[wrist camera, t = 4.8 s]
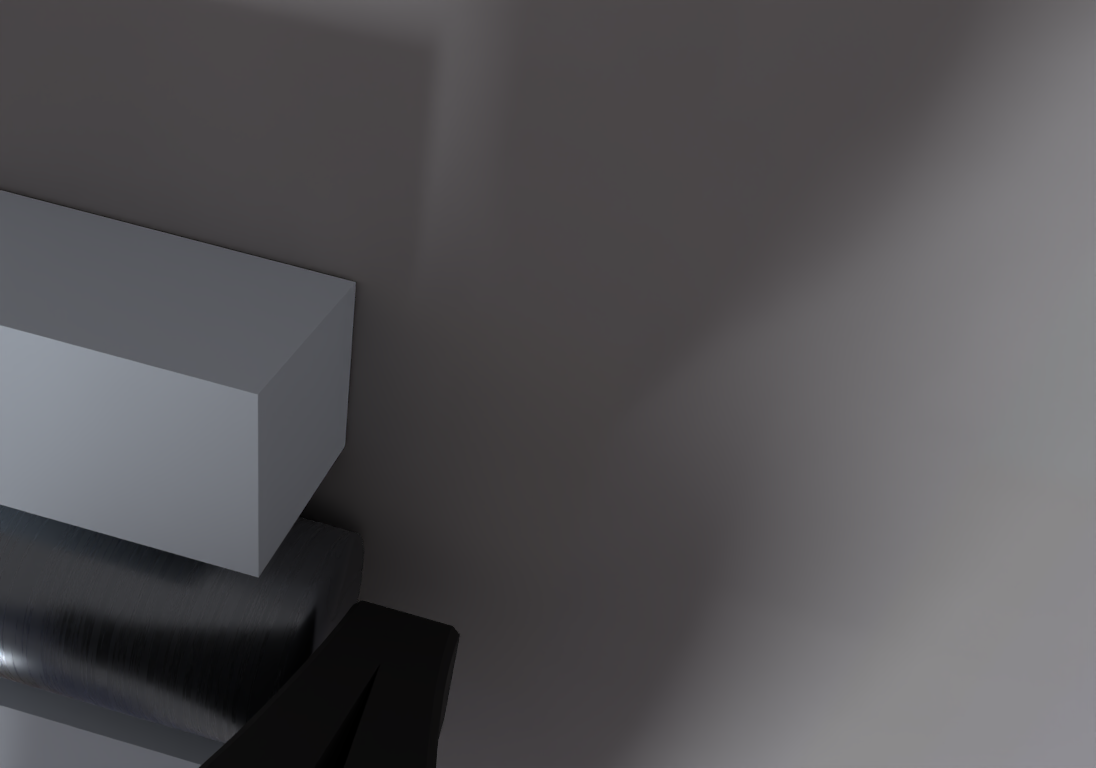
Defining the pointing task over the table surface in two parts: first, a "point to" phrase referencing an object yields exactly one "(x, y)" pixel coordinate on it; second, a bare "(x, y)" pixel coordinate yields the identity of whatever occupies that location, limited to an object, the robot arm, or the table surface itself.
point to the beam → (157, 422)
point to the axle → (166, 620)
